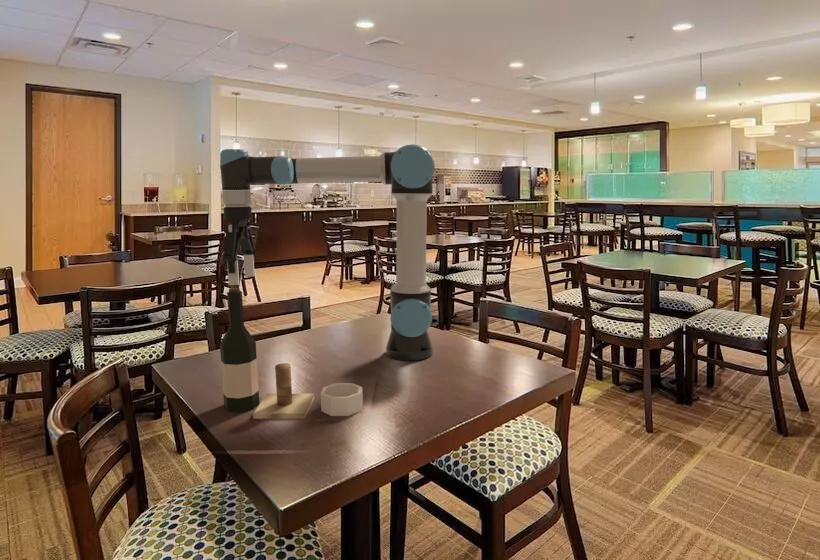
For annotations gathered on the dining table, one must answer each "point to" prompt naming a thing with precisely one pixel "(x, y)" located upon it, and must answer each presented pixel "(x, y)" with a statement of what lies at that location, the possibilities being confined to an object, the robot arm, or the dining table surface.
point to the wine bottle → (238, 360)
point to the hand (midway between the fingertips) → (242, 280)
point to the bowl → (341, 399)
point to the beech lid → (284, 398)
